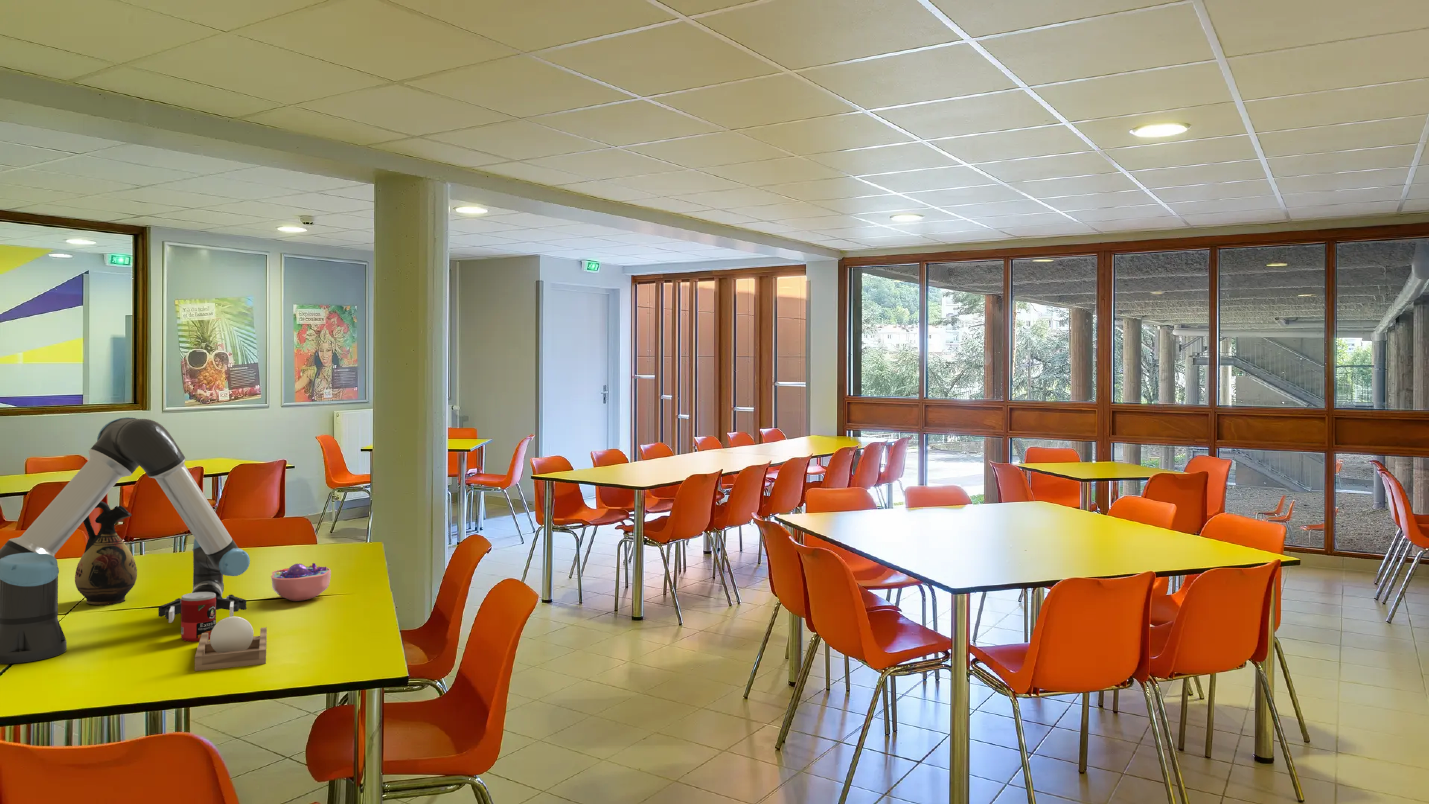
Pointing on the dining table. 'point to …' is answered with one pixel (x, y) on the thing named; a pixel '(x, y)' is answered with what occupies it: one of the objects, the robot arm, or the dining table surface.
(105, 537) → the ceramic jug
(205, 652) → the walnut tray
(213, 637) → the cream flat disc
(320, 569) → the cell model
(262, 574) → the dining table surface
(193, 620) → the canned food
